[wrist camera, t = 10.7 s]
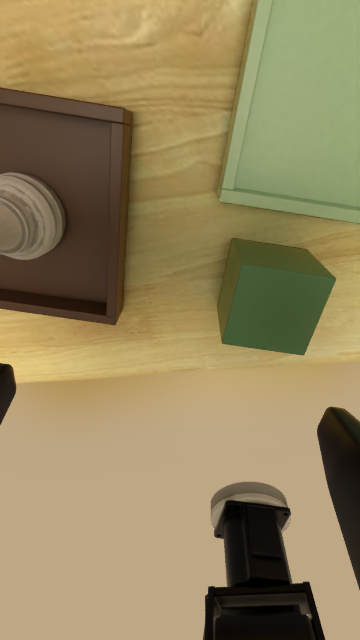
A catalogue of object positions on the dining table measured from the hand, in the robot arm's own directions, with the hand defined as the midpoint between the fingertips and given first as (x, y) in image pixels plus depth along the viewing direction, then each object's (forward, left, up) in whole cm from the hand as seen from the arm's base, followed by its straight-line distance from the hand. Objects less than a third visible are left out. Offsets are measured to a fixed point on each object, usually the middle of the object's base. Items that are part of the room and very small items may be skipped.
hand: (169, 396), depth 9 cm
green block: (0, -5, -12) cm, 13 cm away
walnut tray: (+2, +9, -12) cm, 15 cm away
